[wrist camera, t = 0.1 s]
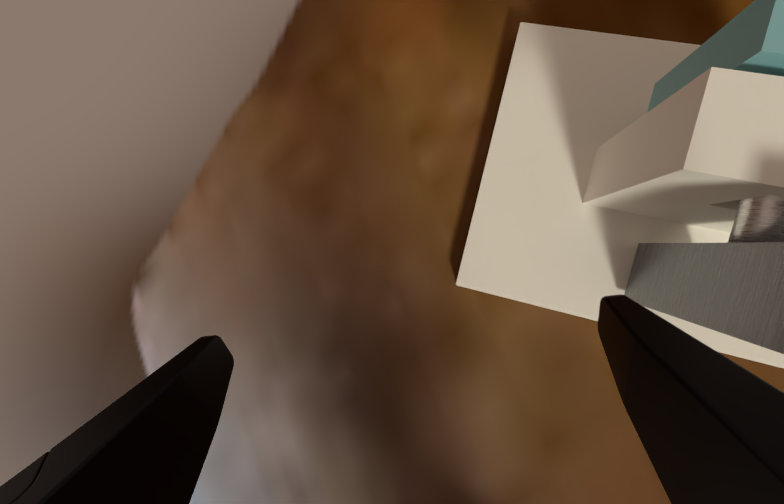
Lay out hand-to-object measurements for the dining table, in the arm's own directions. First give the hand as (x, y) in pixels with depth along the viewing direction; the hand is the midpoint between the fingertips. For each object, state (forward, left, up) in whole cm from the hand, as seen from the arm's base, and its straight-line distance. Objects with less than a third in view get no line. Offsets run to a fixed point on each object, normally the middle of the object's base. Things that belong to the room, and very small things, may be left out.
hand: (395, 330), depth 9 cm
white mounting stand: (-4, -13, -15) cm, 20 cm away
